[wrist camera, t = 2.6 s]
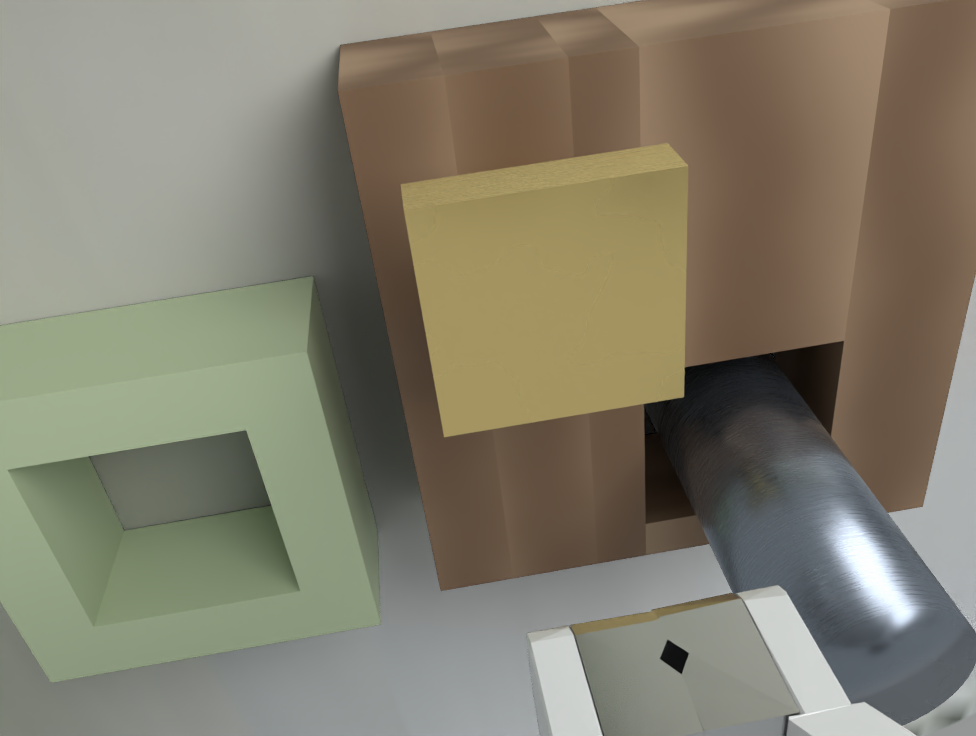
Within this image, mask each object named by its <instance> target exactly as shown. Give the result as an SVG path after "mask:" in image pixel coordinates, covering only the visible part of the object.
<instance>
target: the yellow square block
mask: <svg viewBox="0 0 976 736" xmlns="http://www.w3.org/2000/svg"><path fill="white" fill-rule="evenodd" d="M401 191H402V199H403V208H404V214H405V220H406V226H407V231H408V237H409V242H410V248H411V254H412V259H413V265H414V271H415V276H416V282H417V288H418V293H419V299H420V304H421V310H422V316H423V321H424V327H425V333H426V338H427V344H428V349H429V355H430V361H431V366H432V372H433V378H434V383H435V389H436V394H437V400H438V406H439V411H440V417H441V423H442V428H443V434H444V437H449V436H455V435H461V434H467V433H473V432H479V431H485V430H491V429H497V428H503V427H509V426H515V425H520V424H526V423H532V422H538V421H544V420H550V419H556V418H562V417H568V416H574V415H580V414H586V413H592V412H598V411H604V410H610V409H616V408H622V407H628V406H634V405H640V404H646V403H652V402H658V401H664V400H670V399H676V398H682V397H684V375H685V320H686V265H687V211H688V165H687V164H686V163H685V162H684V161H683V159H682V158H681V157H680V156H679V155H678V154H677V153H676V152H675V151H674V149H673V148H672V147H671V146H670V145H669V144H668V143H665V144H659V145H652V146H646V147H639V148H633V149H626V150H620V151H613V152H607V153H600V154H594V155H587V156H581V157H574V158H568V159H561V160H555V161H548V162H542V163H535V164H529V165H522V166H516V167H509V168H503V169H496V170H490V171H484V172H477V173H471V174H464V175H458V176H451V177H445V178H438V179H432V180H425V181H419V182H412V183H406V184H401Z"/></svg>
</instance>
